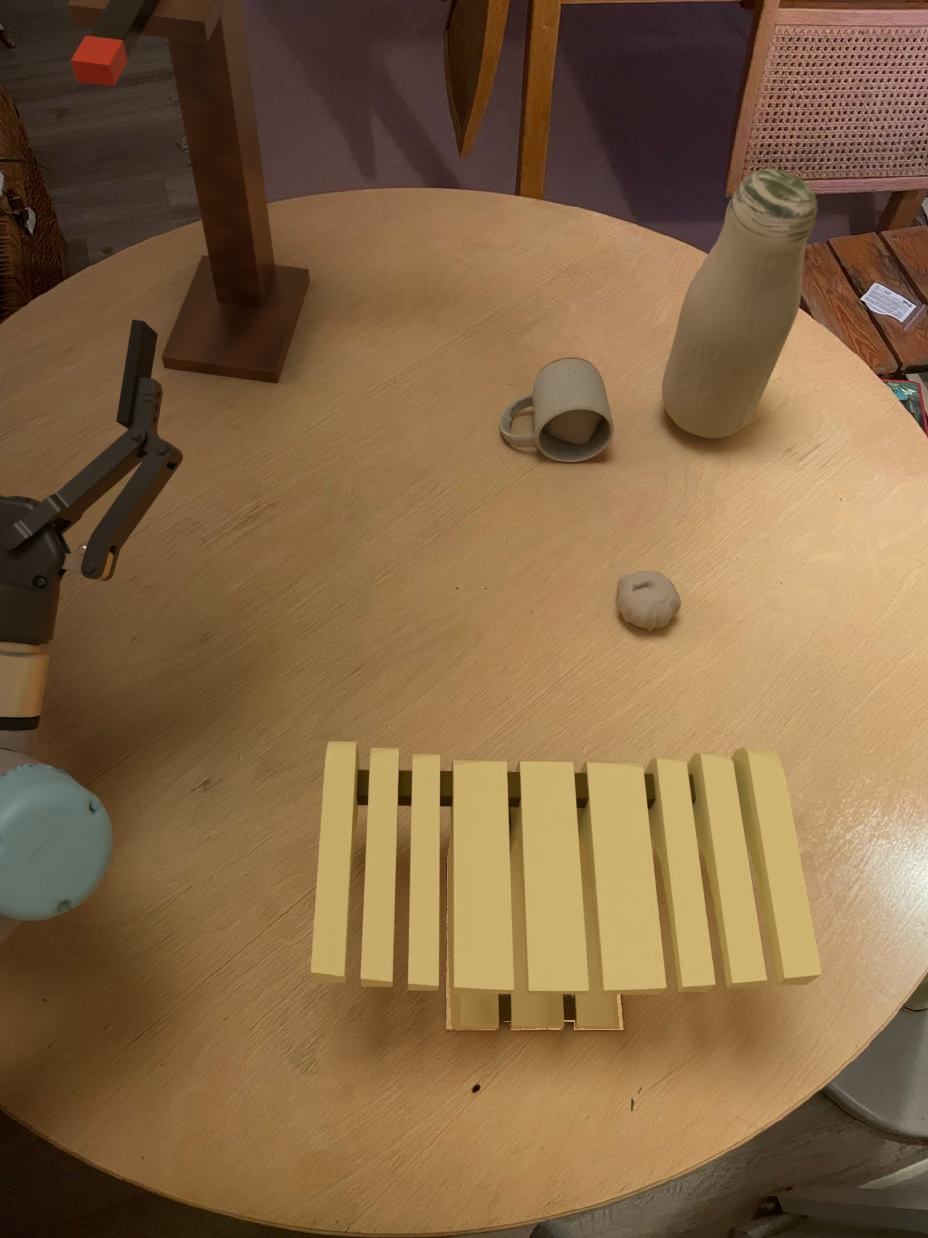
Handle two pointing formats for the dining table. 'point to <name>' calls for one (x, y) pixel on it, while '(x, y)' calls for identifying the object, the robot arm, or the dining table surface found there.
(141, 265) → the dining table surface
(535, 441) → the ceramic mug
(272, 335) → the wooden post stand
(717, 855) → the slatted curved stool
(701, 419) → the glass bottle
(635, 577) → the garlic
